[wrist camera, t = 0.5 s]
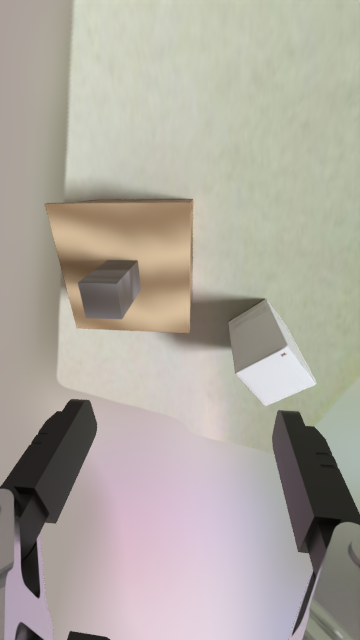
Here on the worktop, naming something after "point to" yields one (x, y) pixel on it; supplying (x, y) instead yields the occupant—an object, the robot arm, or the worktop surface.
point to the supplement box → (267, 355)
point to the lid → (125, 263)
